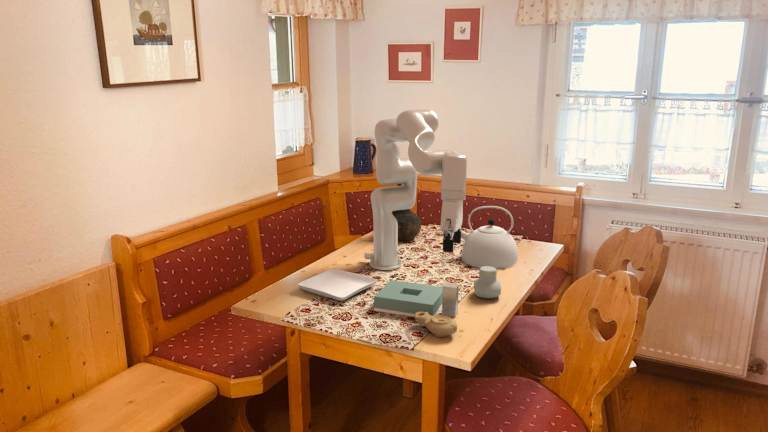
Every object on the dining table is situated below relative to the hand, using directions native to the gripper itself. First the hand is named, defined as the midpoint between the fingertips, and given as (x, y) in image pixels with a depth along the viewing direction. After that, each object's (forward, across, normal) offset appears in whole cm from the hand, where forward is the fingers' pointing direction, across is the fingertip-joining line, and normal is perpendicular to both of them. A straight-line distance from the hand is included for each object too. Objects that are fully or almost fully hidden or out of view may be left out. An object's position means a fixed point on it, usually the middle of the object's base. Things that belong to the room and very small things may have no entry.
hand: (451, 247), depth 197 cm
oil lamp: (+23, +14, -1) cm, 27 cm away
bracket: (+23, 0, 0) cm, 23 cm away
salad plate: (+23, -7, -43) cm, 49 cm away
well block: (+23, -2, -14) cm, 27 cm away
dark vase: (+22, -74, -42) cm, 88 cm away
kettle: (+23, -59, 0) cm, 63 cm away
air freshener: (+23, -20, +8) cm, 31 cm away
